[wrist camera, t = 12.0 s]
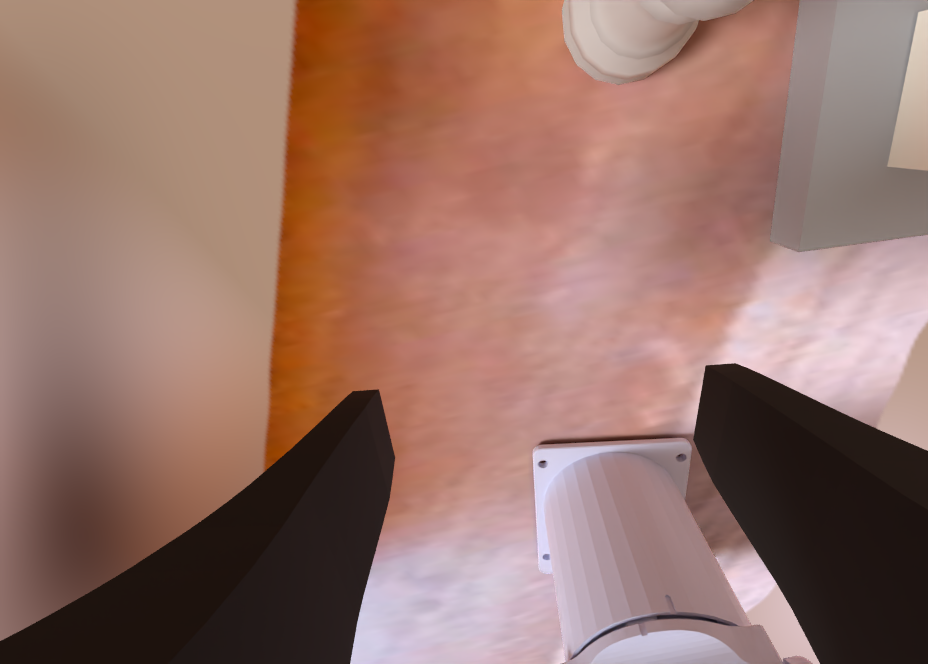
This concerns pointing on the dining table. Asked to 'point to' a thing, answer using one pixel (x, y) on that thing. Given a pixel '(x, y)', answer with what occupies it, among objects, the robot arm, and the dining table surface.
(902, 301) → the dining table surface
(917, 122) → the cream cube
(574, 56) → the rook chess piece
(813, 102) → the slate block
